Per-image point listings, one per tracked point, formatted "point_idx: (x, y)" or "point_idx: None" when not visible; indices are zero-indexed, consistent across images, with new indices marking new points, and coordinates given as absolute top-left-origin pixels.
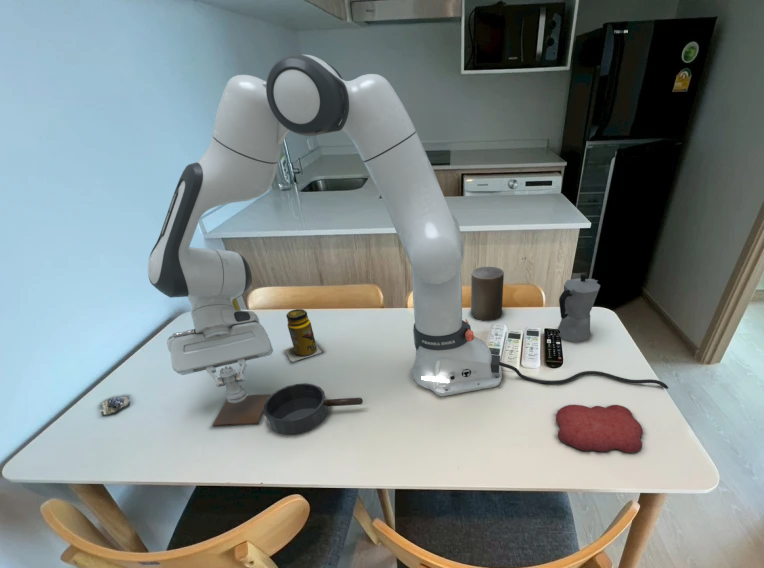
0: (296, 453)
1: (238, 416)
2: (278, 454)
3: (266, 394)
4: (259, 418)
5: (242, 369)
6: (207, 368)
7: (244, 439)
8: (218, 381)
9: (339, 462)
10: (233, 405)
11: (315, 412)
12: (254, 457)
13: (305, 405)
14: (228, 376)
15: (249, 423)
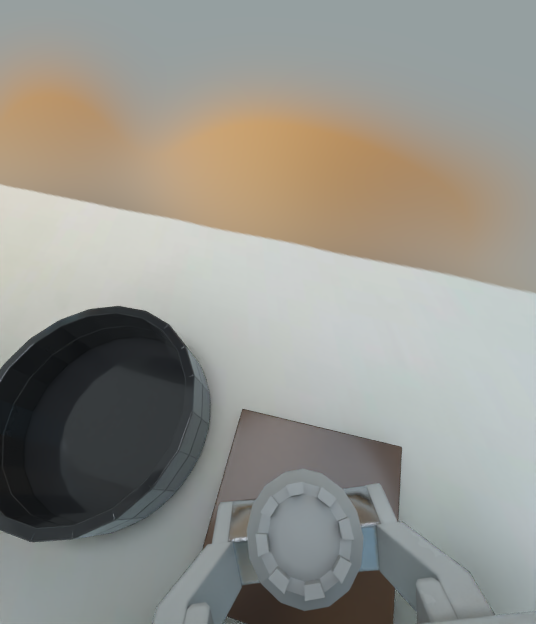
0: (158, 274)
1: (311, 465)
2: (196, 281)
3: None
4: (236, 430)
5: (200, 557)
6: (478, 605)
7: (281, 353)
8: (368, 499)
9: (86, 235)
10: None
11: (48, 330)
12: (251, 285)
13: (81, 457)
14: (289, 474)
15: (269, 415)
